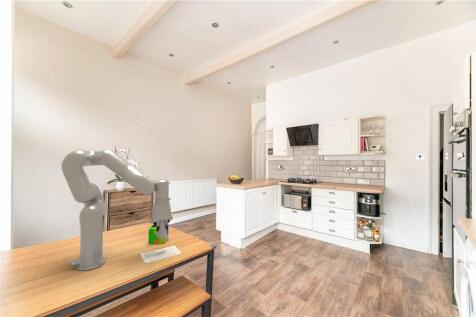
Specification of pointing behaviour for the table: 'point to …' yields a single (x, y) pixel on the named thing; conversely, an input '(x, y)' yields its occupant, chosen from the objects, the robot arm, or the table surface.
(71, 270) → the table surface
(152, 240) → the puzzle toy
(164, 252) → the letter
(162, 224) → the salt shaker
